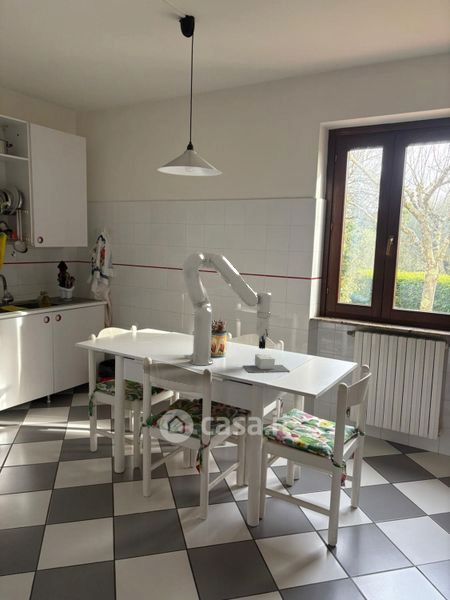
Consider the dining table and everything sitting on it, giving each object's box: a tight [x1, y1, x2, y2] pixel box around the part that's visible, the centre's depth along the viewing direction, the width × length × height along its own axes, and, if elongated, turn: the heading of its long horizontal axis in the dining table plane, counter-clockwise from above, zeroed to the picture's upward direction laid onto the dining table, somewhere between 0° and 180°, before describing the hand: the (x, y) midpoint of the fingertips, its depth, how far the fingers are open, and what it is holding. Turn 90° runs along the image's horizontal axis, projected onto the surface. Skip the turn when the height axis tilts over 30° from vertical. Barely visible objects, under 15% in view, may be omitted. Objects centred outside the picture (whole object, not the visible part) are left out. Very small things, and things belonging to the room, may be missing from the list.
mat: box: [242, 364, 291, 374], centre depth 235 cm, size 22×12×1 cm, turn 102°
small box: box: [254, 353, 276, 369], centre depth 238 cm, size 8×6×10 cm
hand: (261, 348), depth 243 cm, fingers closed
